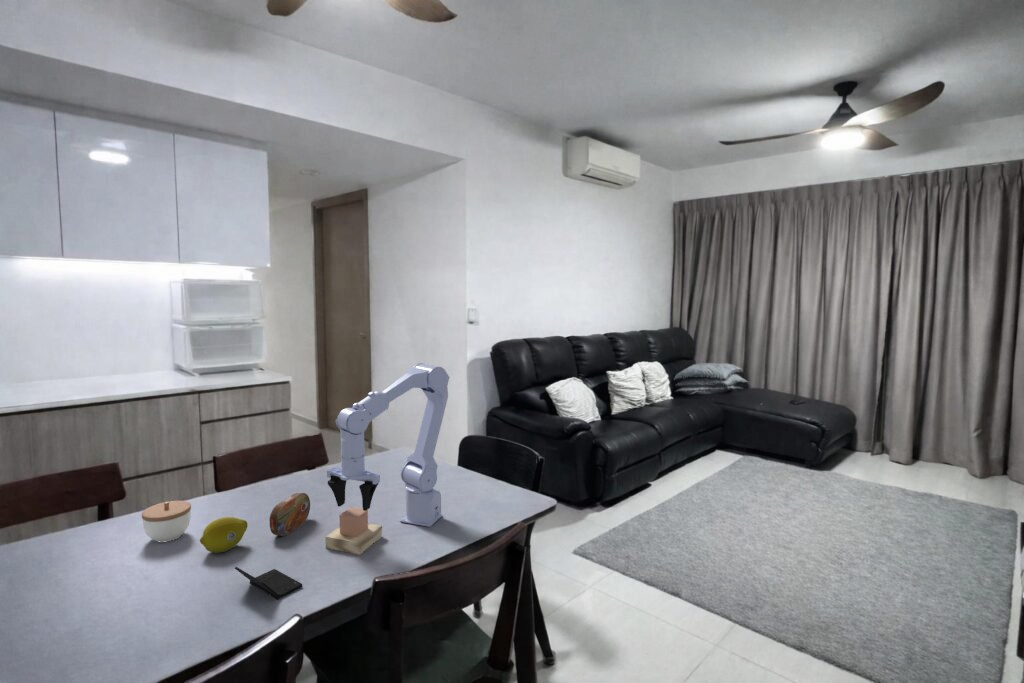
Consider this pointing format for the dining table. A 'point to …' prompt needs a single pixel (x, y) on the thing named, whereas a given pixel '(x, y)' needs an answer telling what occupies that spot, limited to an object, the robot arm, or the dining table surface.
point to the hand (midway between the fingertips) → (353, 507)
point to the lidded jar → (166, 520)
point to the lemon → (223, 534)
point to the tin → (289, 514)
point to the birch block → (354, 540)
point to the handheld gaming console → (273, 583)
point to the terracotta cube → (353, 522)
